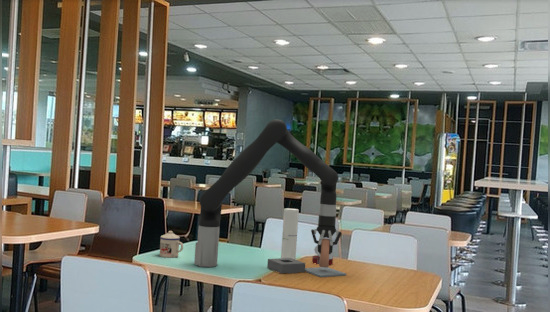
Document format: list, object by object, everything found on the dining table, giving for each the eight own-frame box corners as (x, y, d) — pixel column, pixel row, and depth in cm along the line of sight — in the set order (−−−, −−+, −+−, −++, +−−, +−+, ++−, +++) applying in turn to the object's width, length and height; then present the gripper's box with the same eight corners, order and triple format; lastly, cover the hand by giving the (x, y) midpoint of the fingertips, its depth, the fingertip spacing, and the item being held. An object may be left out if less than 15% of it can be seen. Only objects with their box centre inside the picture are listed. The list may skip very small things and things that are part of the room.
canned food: (327, 271, 249) (337, 254, 250) (327, 273, 239) (338, 255, 240) (307, 259, 250) (317, 241, 251) (307, 260, 240) (318, 242, 241)
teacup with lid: (154, 256, 235) (156, 230, 235) (166, 253, 243) (168, 229, 244) (176, 259, 230) (178, 234, 230) (187, 256, 238) (189, 232, 239)
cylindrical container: (295, 262, 241) (299, 210, 242) (280, 261, 241) (284, 209, 242) (295, 259, 248) (298, 209, 249) (280, 258, 249) (284, 208, 249)
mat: (320, 277, 213) (320, 275, 213) (301, 270, 225) (301, 268, 225) (346, 275, 220) (346, 273, 220) (326, 268, 232) (326, 266, 232)
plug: (323, 267, 220) (324, 240, 220) (317, 265, 223) (319, 238, 223) (330, 267, 222) (332, 239, 222) (324, 265, 225) (326, 238, 226)
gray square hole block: (281, 273, 215) (282, 264, 215) (267, 268, 225) (267, 258, 225) (304, 272, 221) (305, 263, 221) (289, 266, 231) (290, 257, 231)
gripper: (311, 214, 219) (308, 253, 219) (344, 216, 219) (341, 256, 219) (310, 212, 227) (308, 250, 227) (342, 214, 226) (340, 253, 226)
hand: (324, 253), depth 223 cm, fingers closed on plug, 3 cm apart
